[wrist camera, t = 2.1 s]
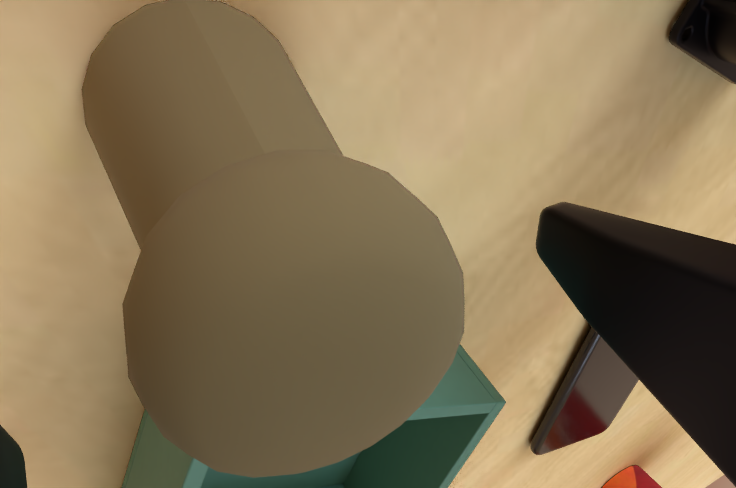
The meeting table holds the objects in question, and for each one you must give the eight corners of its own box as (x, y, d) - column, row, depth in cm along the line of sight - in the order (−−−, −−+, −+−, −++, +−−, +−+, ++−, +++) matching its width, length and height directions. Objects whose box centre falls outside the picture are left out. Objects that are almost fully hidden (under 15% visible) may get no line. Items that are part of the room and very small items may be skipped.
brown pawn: (275, 210, 18) (438, 496, 10) (73, 192, 15) (71, 588, 7) (323, 31, 15) (602, 221, 7) (91, -36, 12) (121, 166, 4)
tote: (437, 315, 25) (507, 402, 21) (345, 480, 30) (387, 577, 26) (176, 301, 18) (205, 425, 14) (111, 517, 23) (119, 656, 19)
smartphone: (599, 423, 41) (699, 259, 33) (607, 432, 41) (712, 267, 32) (522, 450, 38) (613, 274, 30) (530, 460, 37) (625, 284, 29)
